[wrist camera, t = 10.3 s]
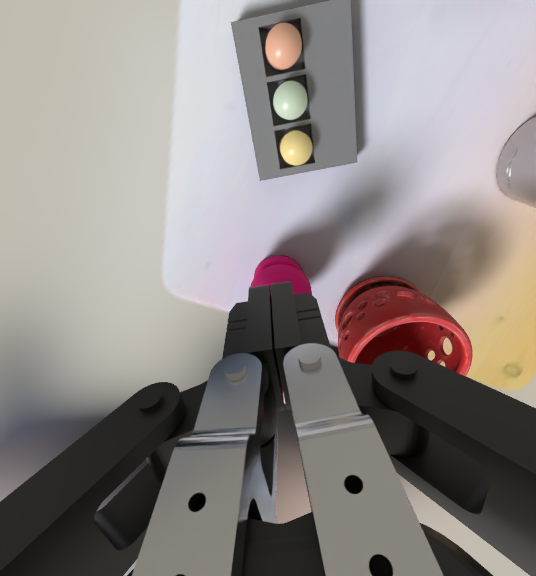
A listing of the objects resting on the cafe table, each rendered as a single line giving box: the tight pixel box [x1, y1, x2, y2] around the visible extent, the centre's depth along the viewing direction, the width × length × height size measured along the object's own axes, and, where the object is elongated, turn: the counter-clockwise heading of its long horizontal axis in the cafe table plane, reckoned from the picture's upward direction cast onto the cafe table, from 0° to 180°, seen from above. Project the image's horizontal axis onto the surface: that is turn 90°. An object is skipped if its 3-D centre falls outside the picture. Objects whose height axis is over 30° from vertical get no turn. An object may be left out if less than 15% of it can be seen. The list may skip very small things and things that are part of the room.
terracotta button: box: [265, 23, 302, 71], centre depth 28 cm, size 3×3×3 cm
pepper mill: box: [250, 256, 312, 404], centre depth 32 cm, size 7×7×20 cm
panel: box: [231, 0, 357, 181], centre depth 31 cm, size 10×13×2 cm
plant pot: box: [335, 277, 472, 376], centre depth 38 cm, size 13×13×12 cm
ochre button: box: [279, 129, 312, 166], centre depth 32 cm, size 3×3×3 cm
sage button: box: [273, 81, 307, 120], centre depth 30 cm, size 3×3×3 cm
